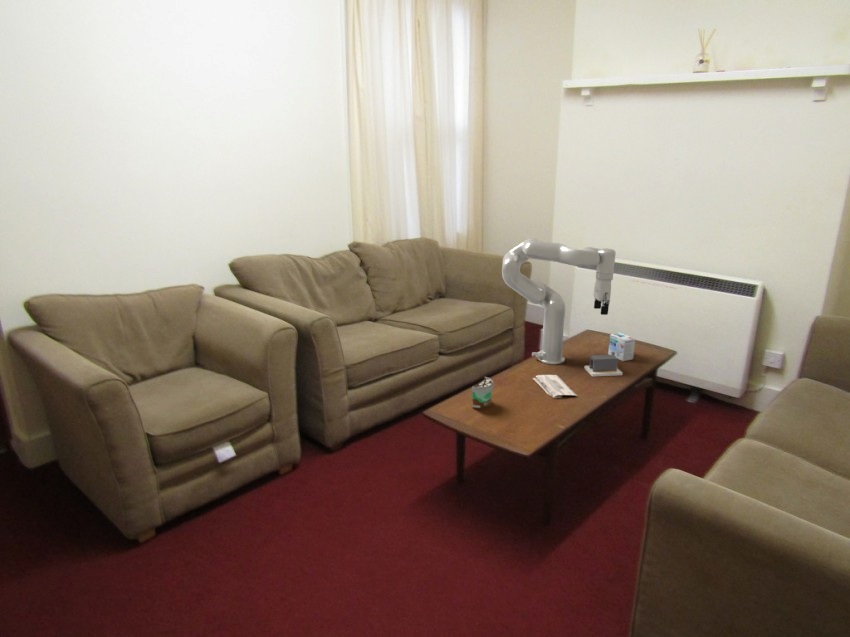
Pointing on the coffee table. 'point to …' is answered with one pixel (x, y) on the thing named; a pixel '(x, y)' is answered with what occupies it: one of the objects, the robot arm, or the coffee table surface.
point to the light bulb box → (621, 346)
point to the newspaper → (553, 385)
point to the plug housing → (603, 363)
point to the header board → (602, 372)
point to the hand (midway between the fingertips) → (600, 311)
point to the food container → (482, 394)
